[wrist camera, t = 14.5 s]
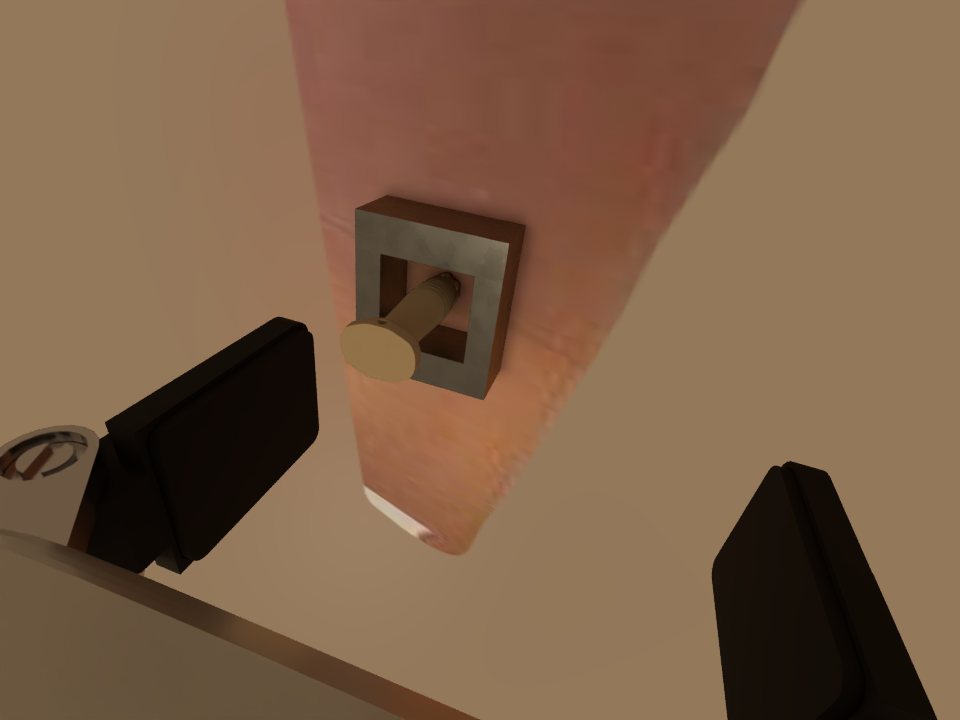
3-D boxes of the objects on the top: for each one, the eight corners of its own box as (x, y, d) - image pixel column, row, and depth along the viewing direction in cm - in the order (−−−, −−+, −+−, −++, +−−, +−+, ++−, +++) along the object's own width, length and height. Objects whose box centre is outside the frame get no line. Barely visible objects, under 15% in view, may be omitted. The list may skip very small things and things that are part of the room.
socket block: (386, 195, 47) (355, 208, 42) (525, 225, 44) (509, 243, 40) (383, 337, 56) (356, 362, 51) (499, 370, 53) (483, 400, 48)
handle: (419, 257, 49) (338, 316, 37) (478, 270, 48) (416, 336, 36) (417, 300, 52) (341, 369, 39) (473, 314, 51) (414, 390, 38)
